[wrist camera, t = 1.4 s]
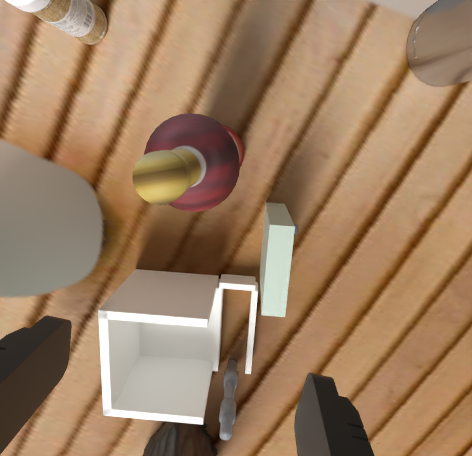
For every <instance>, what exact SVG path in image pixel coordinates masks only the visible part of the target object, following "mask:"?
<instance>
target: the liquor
mask: <svg viewBox="0 0 472 456" xmlns="http://www.w3.org/2000/svg"><path fill="white" fill-rule="evenodd" d="M243 157H244V149H243V145H242V142H241V140H240V138H239V137H238V135H237V134H236V133H235V132H234V131H233V130H231V129H229V128H228V127H225V126H222V125H221V124H220V123H218V122H217V121H215V120H213V119H211V118H209V117H206V116H203V115H200V114H192V113H190V114H180V115H177V116H174V117H171V118H169V119H168V120H166V121H164V122H163V123H162V124H160V125H159V126H158V127H157V128H156V129H155V131H154V132H153V133H152V135H151V136H150V138H149V140H148V142H147V145H146V149H145V153H144V155H143V156H142V157H141V158H140V159H139V160H138V161H137V163H136V165H135V167H134V170H133V183H134V186H135V189H136V190H137V192H138V194H139V195H140V196H141V197H142V198H143V199H144V200H146V201H148V202H149V203H152V204H156V205H166V204H169V205H171V206H172V207H174V208H177V209H180V210H183V211H191V212H195V211H204V210H207V209H211V208H213V207H215V206H217V205H218V204H220V203H221V202H222V201H224V200H225V199H226V198H227V197H228V196H229V194H230V193H231V192H232V190H233V188H234V187H235V185H236V182H237V179H238V176H239V170H240V167H241V165H242V162H243Z"/></svg>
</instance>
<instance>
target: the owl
mask: <svg viewBox="0 0 472 456" xmlns="http://www.w3.org/2000/svg"><path fill="white" fill-rule="evenodd" d="M206 427H207V425H206V424H205V423H203V425H201V424H190V423H180V422H169V421H165V422H164V423H163V425H162V427H161V428H160V429H159V431H158V433H157V434H155V435H153V436H152V437H151V439H150V441H149V444H148V445H147V446H146V448H145V449H144V454H143V456H216V455H217V448H215V446H213V445H212V443H211V442H210V441H211V440H212V439H213V438H212V437H211V436H210V435H209V434H208V433H207V430H206V429H205V428H206Z"/></svg>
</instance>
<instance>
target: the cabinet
mask: <svg viewBox="0 0 472 456" xmlns="http://www.w3.org/2000/svg"><path fill="white" fill-rule="evenodd" d="M224 289H236V290H249V291H251V302H250V315H249V327H248V339H247V352H246V369H245V374H251V367H252V355H253V344H254V332H255V321H256V309H257V298H258V282H255V276H242V275H229V274H221V279H219V276H217V275H204V274H191V273H178V272H166V271H153V270H140V269H135V270H134V271H133V272H132V273H131V275H130V276H129V277H128V278H127V279H126V280H125V281H124V282H123V283H122V285H121V286H120V287H119V288H118V289H117V290H116V291H115V292H114V293H113V295H112V296H111V297H110V298H109V299H108V300H107V301H106V302H105V303H104V305H103V306H102V307H101V308H100V309H99V310H98V314H99V334H100V355H101V376H102V396H103V415H104V416H115V417H126V418H137V419H147V420H158V421H169V422H180V423H190V424H201V425H203V421H204V415H205V410H206V404H207V398H208V393H209V387H210V382H211V376H212V371H218V365H219V359H220V343H221V325H222V308H223V290H224ZM223 386H224V388H225V392H224V399H223V400H222V401H221V406H220V414H219V421H220V423H221V426H220V438H221V439H223V440H229V439H230V438H231V436H232V425H233V424H234V422H235V416H236V402H235V401H234V397H235V389H236V388H237V386H238V371H237V362H236V360H234V359H231V360H229V361H228V366H227V369H226V370H225V374H224V382H223Z"/></svg>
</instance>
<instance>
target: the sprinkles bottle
mask: <svg viewBox="0 0 472 456" xmlns="http://www.w3.org/2000/svg"><path fill="white" fill-rule="evenodd" d="M5 1H7V2H8V3H10V4H12V5H13V6H15V7H17V8H19V9H21V10H23V11H26V12H31V13H33V14H34V15H36V16H38V17H39V18H41V19H42V20H44V21H46V22H48V23H50V24H51V25H53V26H55V27H57V28H59V29H60V30H62V31H64V32H66V33H68V34H69V35H72V36H74V37H76V38H77V39H78V40H80V41H82V42H83V43H86V44H96V43H98V42H100V41H101V40H102V39H103V38H104V37H105V34H106V32H107V19H106V16H105V14H104V12H103V11H102V9H101V8H100V7H99V6H97V5H96V4H94V3H92V2H91V1H90V0H5Z"/></svg>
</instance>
